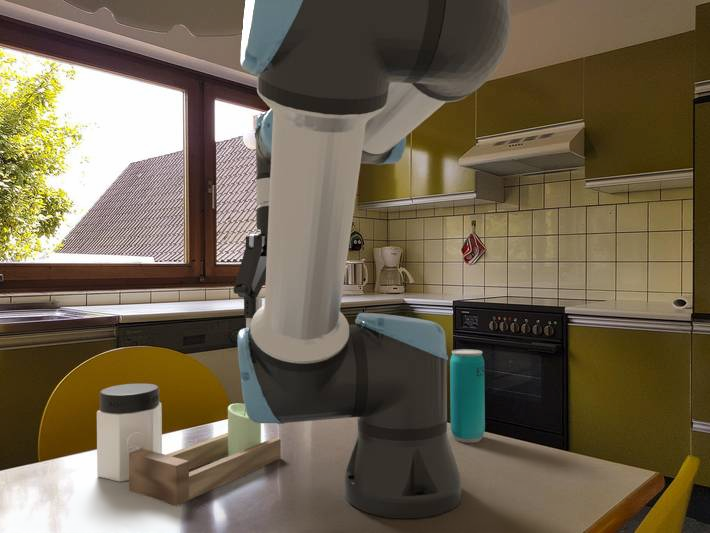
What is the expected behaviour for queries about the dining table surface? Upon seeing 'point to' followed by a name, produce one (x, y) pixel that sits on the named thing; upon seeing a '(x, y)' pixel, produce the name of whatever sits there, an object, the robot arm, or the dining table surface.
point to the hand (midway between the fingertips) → (279, 334)
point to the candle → (241, 430)
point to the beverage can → (467, 395)
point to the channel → (171, 471)
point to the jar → (127, 427)
